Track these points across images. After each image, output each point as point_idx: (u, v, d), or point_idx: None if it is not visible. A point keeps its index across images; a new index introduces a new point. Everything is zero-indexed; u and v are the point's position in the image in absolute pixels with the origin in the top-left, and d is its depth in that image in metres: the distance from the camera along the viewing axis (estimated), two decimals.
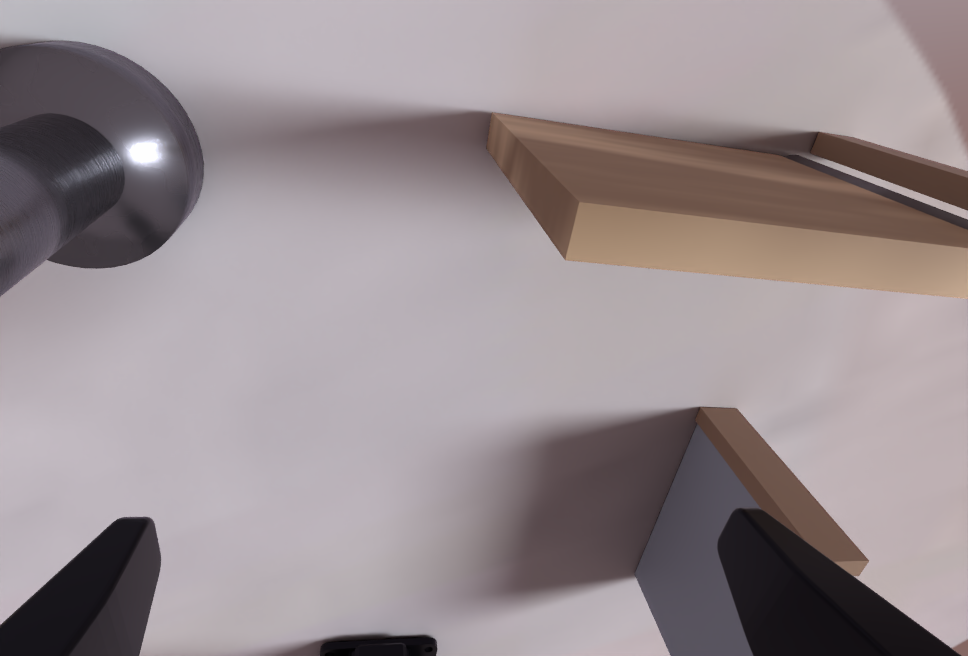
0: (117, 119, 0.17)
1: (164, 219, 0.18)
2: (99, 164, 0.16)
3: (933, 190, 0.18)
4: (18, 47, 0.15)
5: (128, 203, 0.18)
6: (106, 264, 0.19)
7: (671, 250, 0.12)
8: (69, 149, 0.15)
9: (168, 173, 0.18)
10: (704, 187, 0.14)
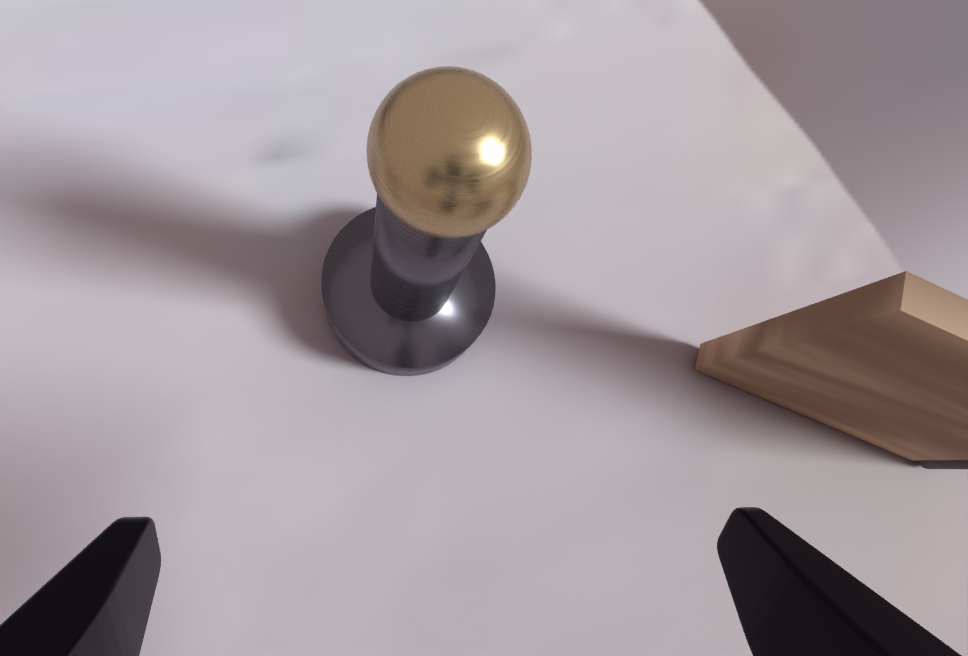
0: None
1: (460, 339, 0.22)
2: None
3: None
4: None
5: (440, 319, 0.22)
6: (396, 363, 0.21)
7: None
8: None
9: (479, 306, 0.22)
10: None
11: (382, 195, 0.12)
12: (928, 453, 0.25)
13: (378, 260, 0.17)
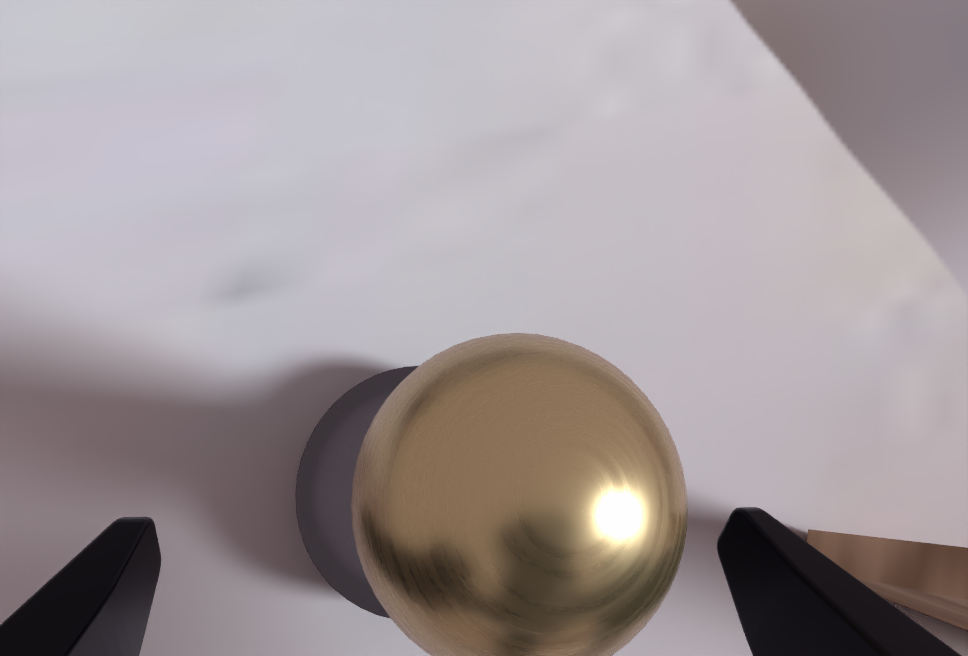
0: None
1: None
2: None
3: None
4: None
5: None
6: None
7: None
8: None
9: None
10: None
11: None
12: None
13: None
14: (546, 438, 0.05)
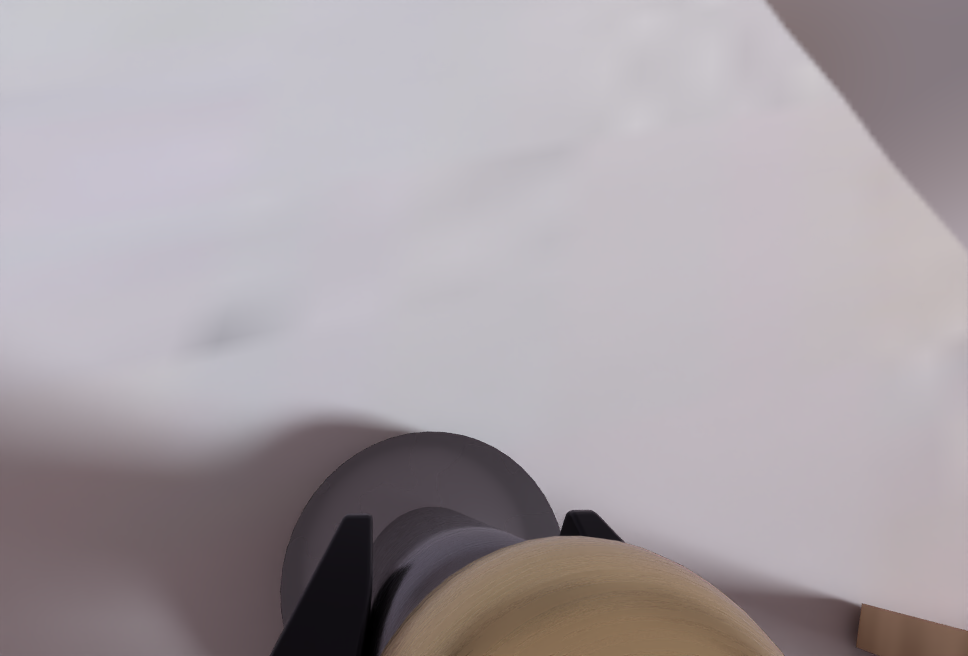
0: (513, 529, 0.14)
1: None
2: None
3: None
4: (451, 434, 0.14)
5: None
6: None
7: None
8: None
9: None
10: None
11: None
12: None
13: None
14: None
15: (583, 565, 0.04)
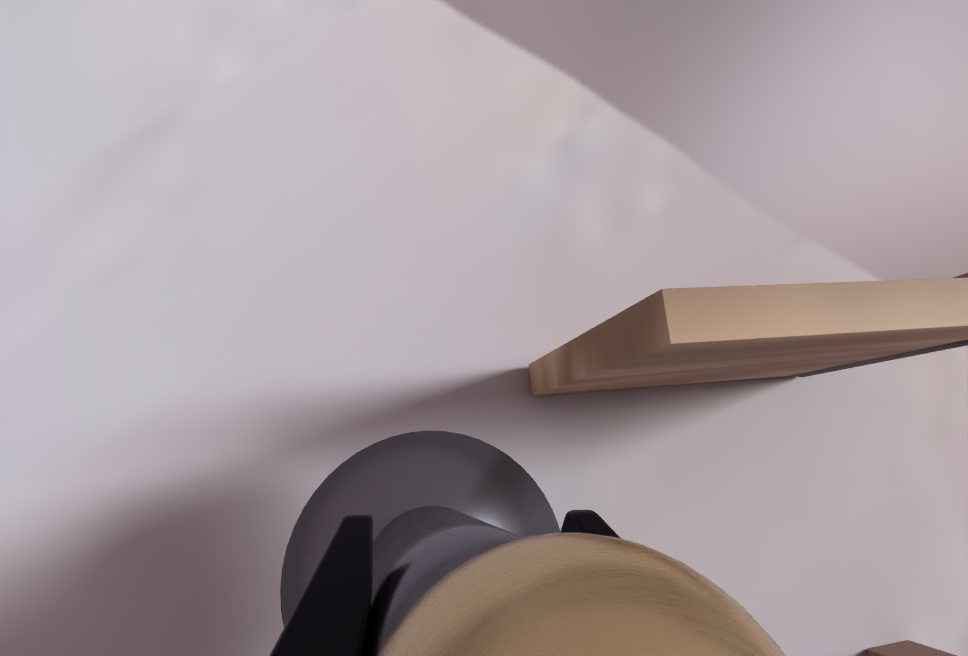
0: (513, 528, 0.14)
1: None
2: None
3: None
4: (450, 433, 0.14)
5: None
6: None
7: (757, 319, 0.13)
8: None
9: None
10: None
11: None
12: (797, 371, 0.23)
13: None
14: None
15: (582, 561, 0.04)
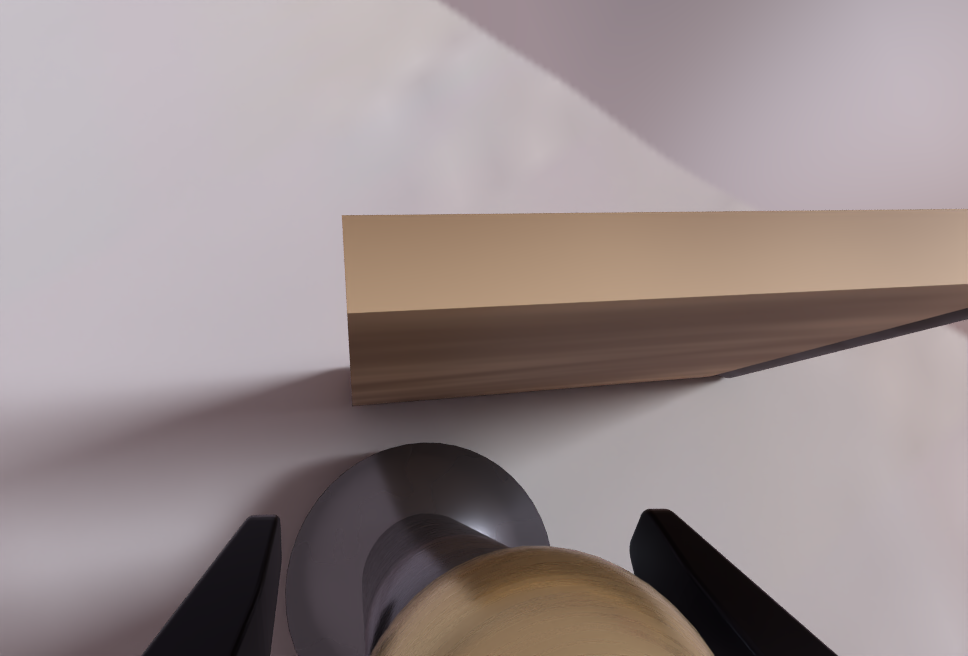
0: (503, 534, 0.15)
1: None
2: None
3: None
4: (444, 445, 0.15)
5: None
6: None
7: (527, 271, 0.07)
8: None
9: None
10: None
11: None
12: (716, 370, 0.17)
13: None
14: None
15: (541, 571, 0.05)
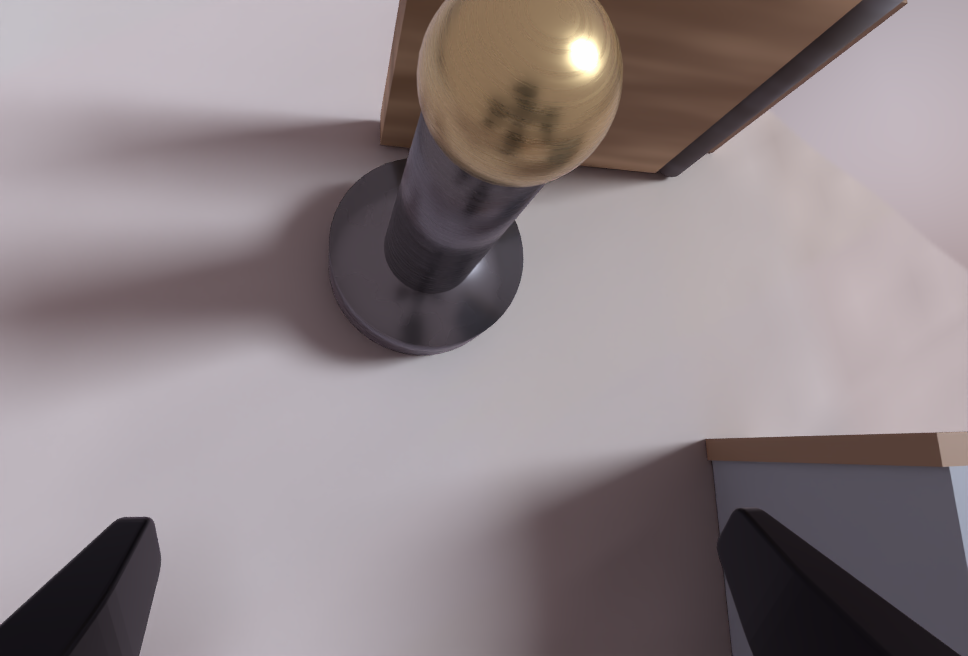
0: None
1: (481, 318, 0.19)
2: None
3: None
4: None
5: (459, 294, 0.19)
6: (407, 339, 0.18)
7: None
8: None
9: (504, 282, 0.20)
10: None
11: (434, 122, 0.10)
12: (657, 153, 0.22)
13: (403, 216, 0.15)
14: None
15: None
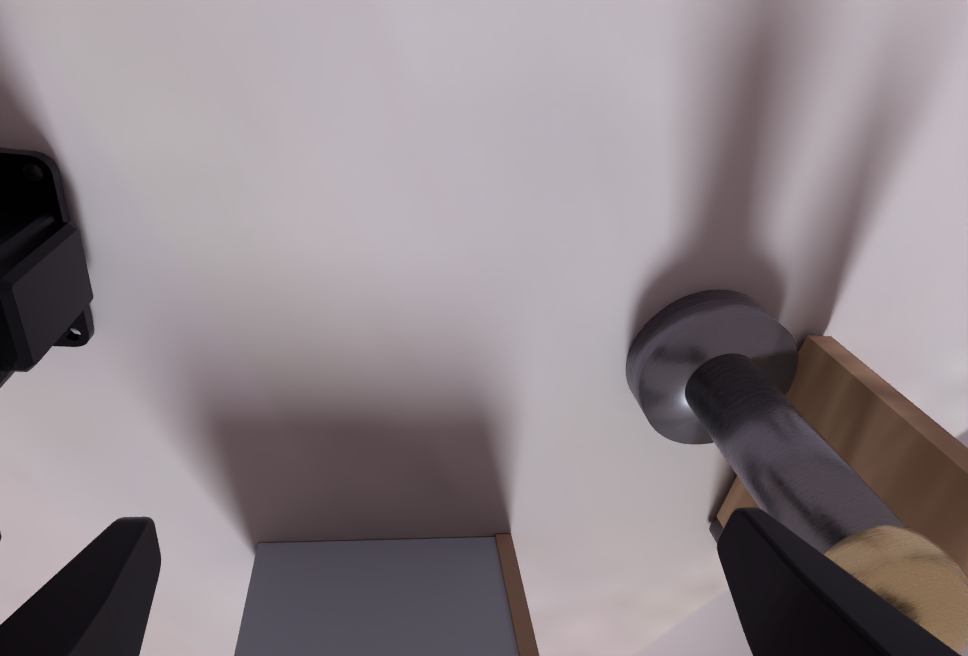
0: None
1: (656, 415, 0.24)
2: None
3: None
4: None
5: (679, 402, 0.24)
6: (657, 366, 0.22)
7: None
8: None
9: (677, 431, 0.24)
10: None
11: (886, 556, 0.15)
12: None
13: (780, 425, 0.19)
14: (960, 651, 0.14)
15: None
